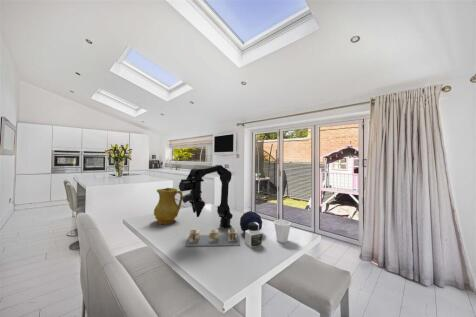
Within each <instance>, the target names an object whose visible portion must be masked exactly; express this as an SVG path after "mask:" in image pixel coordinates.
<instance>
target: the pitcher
mask: <svg viewBox="0 0 476 317" xmlns="http://www.w3.org/2000/svg"><path fill="white" fill-rule="evenodd" d="M156 192H157V193H158V195H159V196H158V197H159V200H158V202H157V204H156V205H155V208H154V209H153V215H154V219H156V220H157V222H156V223H157V224H158V225H170V224H172V223H175V219H176V218H177V217H178V216H179V215H178V214H179V212H180V209H181V207H182V206H181V205H182V202H183V200H182V198H181V197H182V196H183V191H180V189H177V188H173V187H166V188H160V189H159V188H158V189H156ZM177 194H180V197H179V202H178V204H177V202H176V195H177Z"/></svg>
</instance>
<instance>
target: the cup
mask: <svg viewBox="0 0 476 317" xmlns="http://www.w3.org/2000/svg"><path fill="white" fill-rule="evenodd" d="M273 224H274V228H275V229H274V230H275V235H276V236H275V237H276V241H277V242H279V243H281V244H284V243H287V242H288V239H289V234H290V229H291V225H292V223H291V222H290V221H289V220H285V219H276V220H274V221H273Z"/></svg>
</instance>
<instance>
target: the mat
mask: <svg viewBox="0 0 476 317" xmlns="http://www.w3.org/2000/svg"><path fill="white" fill-rule="evenodd" d="M189 237H190V234H189V236H188V238H187V240H186V243H185V248H196V247H202V248H203V247H206V248H207V247H240V246H241V244H240V238H239V235H238V234H237V241H228V234H218V242H209V234H199V241H198V242H189Z"/></svg>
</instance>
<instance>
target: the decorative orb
mask: <svg viewBox="0 0 476 317" xmlns="http://www.w3.org/2000/svg"><path fill="white" fill-rule="evenodd" d="M251 222H256V223H258V224H259V232H261V231H260V230H262V226H263V220H262V218H261V215H260V214H258V212H255V211H251V210H248V211H246V212H244V213H243V214H242V215H241V217H240V221H239V226H240V230H241V231H242V232H243V233H244V234H245V231H246V230H248V224H249V223H251Z"/></svg>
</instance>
